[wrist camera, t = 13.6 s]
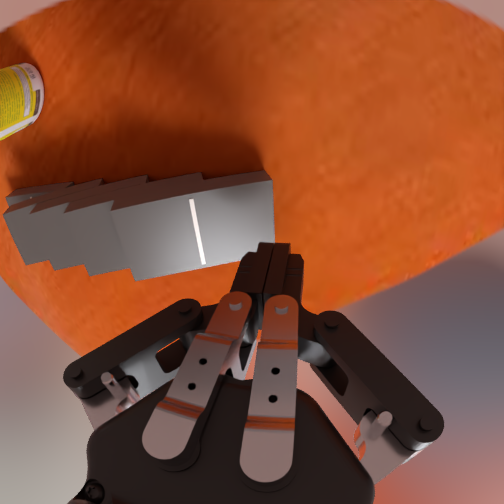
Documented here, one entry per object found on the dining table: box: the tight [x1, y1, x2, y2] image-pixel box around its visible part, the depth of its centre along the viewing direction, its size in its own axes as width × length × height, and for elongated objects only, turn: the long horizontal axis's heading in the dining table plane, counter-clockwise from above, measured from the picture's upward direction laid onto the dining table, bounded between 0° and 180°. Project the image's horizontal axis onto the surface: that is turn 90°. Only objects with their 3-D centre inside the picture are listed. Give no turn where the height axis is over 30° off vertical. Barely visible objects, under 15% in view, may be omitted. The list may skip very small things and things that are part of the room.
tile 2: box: [63, 172, 203, 276], centre depth 19 cm, size 2×5×9 cm
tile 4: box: [3, 178, 104, 265], centre depth 20 cm, size 2×5×9 cm
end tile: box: [6, 182, 74, 207], centre depth 23 cm, size 2×5×9 cm
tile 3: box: [29, 175, 149, 271], centre depth 20 cm, size 2×5×9 cm
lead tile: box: [110, 170, 275, 281], centre depth 18 cm, size 2×5×9 cm
